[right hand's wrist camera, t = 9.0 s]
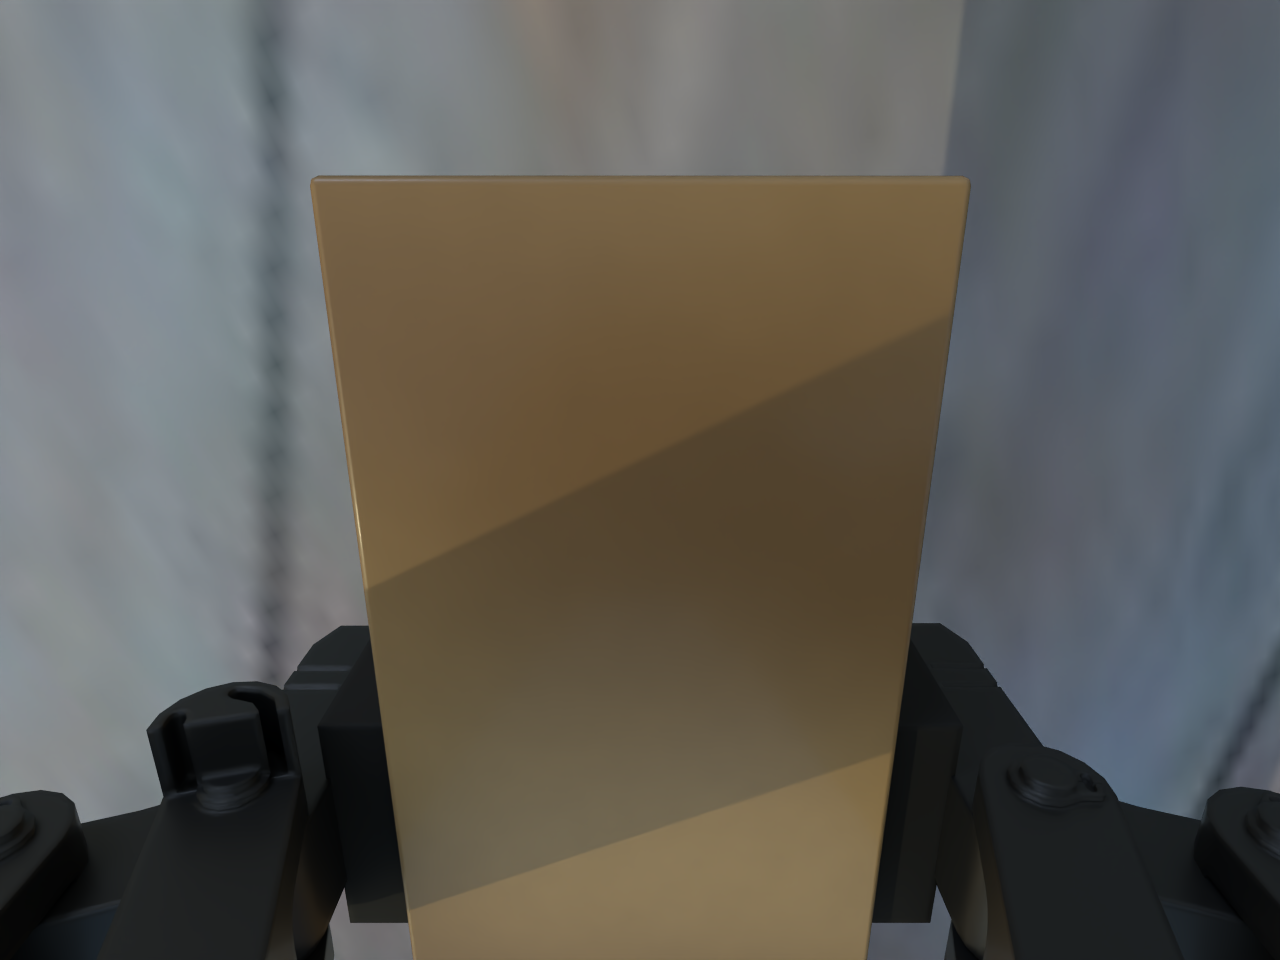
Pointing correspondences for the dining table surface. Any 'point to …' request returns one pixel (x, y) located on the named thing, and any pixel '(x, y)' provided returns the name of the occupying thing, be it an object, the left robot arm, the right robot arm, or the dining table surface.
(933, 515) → the dining table surface
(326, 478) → the dining table surface
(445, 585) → the post
